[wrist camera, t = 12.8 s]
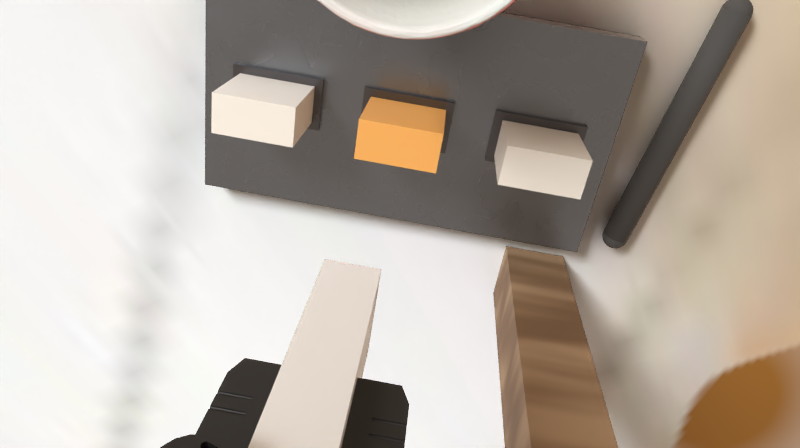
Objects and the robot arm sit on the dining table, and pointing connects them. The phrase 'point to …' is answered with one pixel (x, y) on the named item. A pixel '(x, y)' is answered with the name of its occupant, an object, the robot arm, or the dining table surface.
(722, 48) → the dark grey rod
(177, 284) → the dining table surface
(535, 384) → the post
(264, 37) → the switch plate
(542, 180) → the cream rectangular box
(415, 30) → the mug
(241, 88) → the paddle
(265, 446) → the robot arm
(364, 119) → the block
